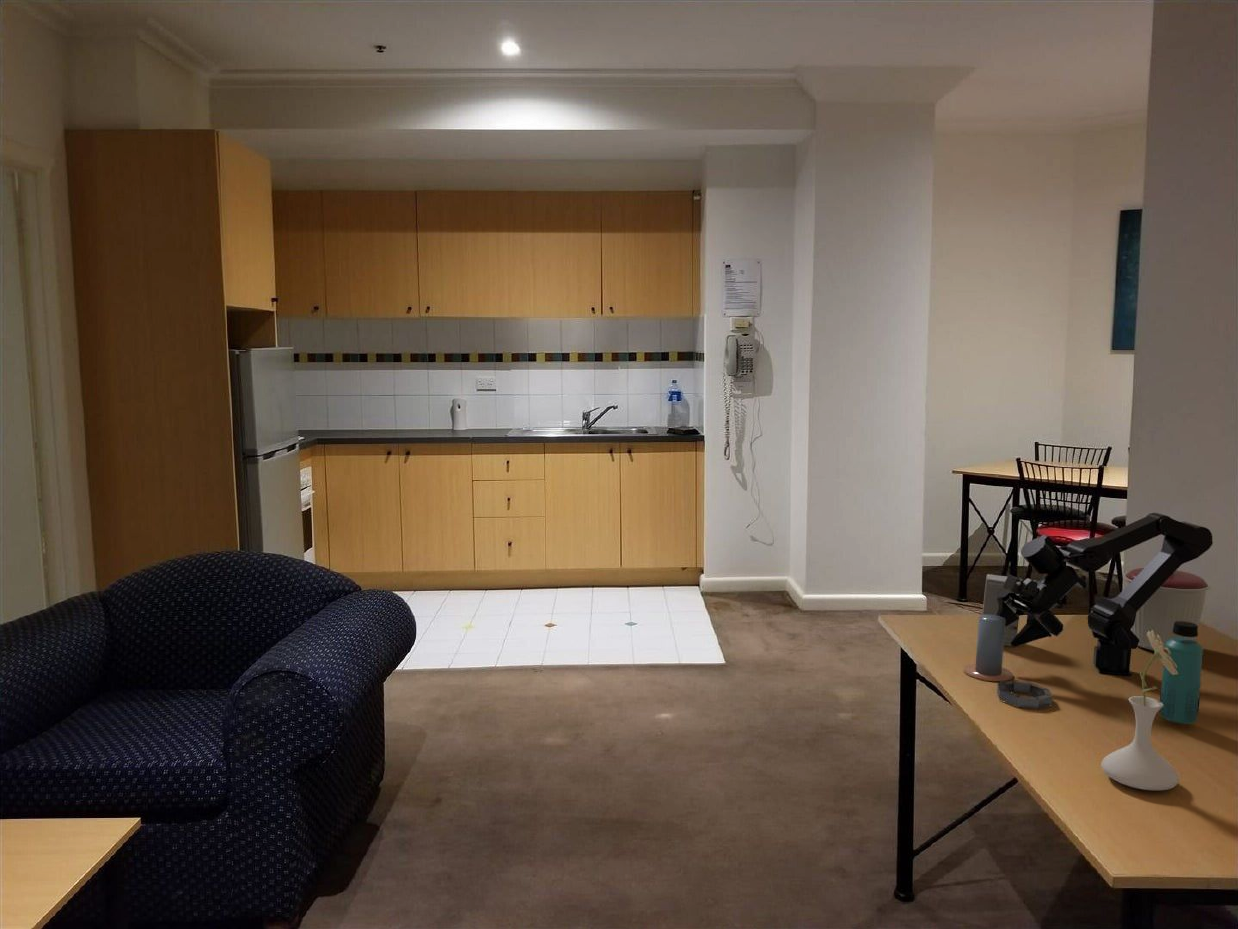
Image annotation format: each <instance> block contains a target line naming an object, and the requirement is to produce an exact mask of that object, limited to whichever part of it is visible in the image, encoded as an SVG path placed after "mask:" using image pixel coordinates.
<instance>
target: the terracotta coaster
mask: <svg viewBox="0 0 1238 929" xmlns="http://www.w3.org/2000/svg"><path fill="white" fill-rule="evenodd" d="M975 665H976V663H970V664H966V665H965V666H963V673H964V675H966V676H968V677H969V678H973V679H975V680H980V681H985V682H990V681H1004V682H1008V680H1009V681H1012V679H1013V677H1014V676H1013V675H1014V674H1013V673H1012V671H1011V670H1010V669H1007V668H1005V667H1002V674H1001V675H998V676H988V675H983V674H980V673H978V672H976V671H975Z"/></svg>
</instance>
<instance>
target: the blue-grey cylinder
mask: <svg viewBox="0 0 1238 929" xmlns="http://www.w3.org/2000/svg"><path fill="white" fill-rule="evenodd" d="M1005 622H1006V619H1005V618H1003V617H1000V616H996V615H982V614H980V615H979V616H978V622H977V623H978V624H977V626H978V628H977V637H976V638H977V640H976V653H975V655H976V656H975V664H976V665H975V671H976V672H978V673H980V674H983V675H988V676H998V675H1001V674H1002V668H1003V662H1004V661H1003V660H1004V649H1005V646H1004V635H1005Z"/></svg>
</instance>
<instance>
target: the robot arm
mask: <svg viewBox="0 0 1238 929" xmlns="http://www.w3.org/2000/svg"><path fill="white" fill-rule="evenodd" d="M1158 536H1164V537H1163V541H1162V546H1161V549H1160V551H1159V552H1158V553H1157V554H1156V555H1155V556H1154V557H1153V558H1152V559H1151V560H1150V561H1149V563H1147V564H1146V566H1145V567H1143V568H1144V569H1143V570H1142V571H1141V572H1140V573H1139V574H1138V575H1137V576H1136V577H1135V578H1134V579H1133V581H1132V582H1131V583H1130V584H1129V585H1128V586H1127V587H1126V586H1125V588H1124V589H1123V590H1122V591H1121V592H1120V593H1118V595H1117V596H1115V597H1113V598H1108V597H1106V596H1102V597H1101V598H1099V600H1098V601H1097V603H1096V604H1095V605H1093V606H1092V607H1090V608H1089V610H1090V612H1089V613H1088V615H1087V626H1088V628H1089V629H1090V631H1091V632H1092V636H1093V638H1095V639H1097V643H1096V644H1097V645H1095V646H1093V647H1094V648H1093V658H1092V664H1093V665H1094V668H1096V670H1097V672H1098V673H1100V674H1101V673H1102V674H1110V675H1113V674H1114V675H1119V676H1120V675H1122V676H1130V677H1131V676H1132V672H1131V671H1130V668H1131V656H1132V650H1135V649H1137V648H1138V647H1139V646H1138V643H1139V641H1140V640H1139V639H1138V638H1137V636H1136V635H1135V634H1134V633H1133V632H1132V631H1131V628H1132V627H1133V625H1134V623H1135V618H1136V613H1137V611H1138V610H1139V609H1140V608H1141V607H1142V606H1143V605H1144V604H1145V603H1146V601H1147V600H1148V599H1149V598H1150V597H1151V596H1152V595H1153V594H1154V593H1155V592H1156V591H1157V590H1158V589H1159V588H1160V587H1161V586H1162V585H1163V584H1164V583H1165V582H1166V580H1167V579H1168V578H1169V577H1170V576H1171V575H1172V574H1173V573H1174V572H1175V571H1176V570H1178V569H1179V568H1180V567H1181V566H1183V564H1186V563H1188V562H1191V561H1193V560H1196V559H1198V558H1199V557H1201V556H1202V555H1203V554H1205V553H1206V552H1207V551H1208V550H1210V549H1211V547H1212V545H1213V543H1214V541H1213V533H1212V532H1211V530H1210V529H1209V528H1207V527H1205V526H1202V525H1201V526H1200V525H1198V524H1193V523H1191V522H1187V521H1179V520H1176V519H1174V518H1172V517H1170V516H1169V515H1166V514H1162V513H1158V512H1152V513H1149V514H1147V515H1146V516H1144V517H1142V518H1140V519H1138V520H1136V521H1135V520H1134V522H1131V523H1129V524H1126V525H1125V526H1122V527H1120V528H1117V529H1115V530H1113V531H1110V532H1109V533H1106V534H1104V535H1101V536H1096V537H1085V538H1081V539H1077V540H1075V541H1072V542H1070V543H1068V544H1067V545H1065V546H1059V547H1058V546H1057V545H1056V544H1055V543H1054V541H1053V539H1052V538H1051V537H1050V536H1049V535H1046V534H1042V535H1041V536H1039V537H1035V538H1033V539H1032V540H1030V541H1028V542H1025V544H1024V545H1023V546H1022V548H1021V550H1020V555H1021V556H1022V558H1023V559H1024V560H1026V562H1027V563H1028V564H1029V565H1030V566H1031V567H1032V568H1033V569H1034V571H1036V572H1037V573H1038V574H1040V575H1044V576H1043V577H1041V578H1040V580H1036V579H1034V580H1033V579H1031V578H1028V577H1027V578H1026V579H1024V580H1023V579H1022V580H1020V579H1021V578H1019V577H1017V576H1013V575H1012V574H1010V573H1009V574H1008V575H1007V579H1006V581H1005V583H1004V585H1003V587H1004V588H1006V589H1001V590H1000V591H999V592H998V593H997V594H996V596H997V597H998V598H997V601H998V606H999V609H998V612H997V614H996V616H1000V617H1003V618H1005V619H1006V622H1005V627H1006V626H1008V625H1010V624H1011V623H1013V622H1015V621H1016V620H1018V619H1019V620H1020V616H1023V615H1024V614H1025V615H1027V616H1026V617H1027V618H1026V623H1025V625H1024V626H1023V627H1022V628H1021V630H1020V631H1019V632H1017V635H1016V637H1015V638H1014V639H1013V641H1012V642H1011V645H1012V646H1013V647H1012V648H1017V647H1019V646H1023V645H1025V644H1029V643H1031V642H1035V641H1038V640H1041V639H1045V638H1051V637H1052V636H1055V637H1058V636H1059V635H1060V634H1061V633H1062V632H1063V631H1064V624H1063V623H1062V621H1061V620H1059V618H1058V617H1057V615H1055V614H1054V613H1053V612H1052V609H1053V608H1054V607H1055V606H1058V607H1061V606H1062V605H1063V604H1064V602H1063V601H1062V599H1063V598H1064V597H1065V596H1066V595H1067V594H1068V593H1069V592H1070V591H1071V590H1072V589H1073V588H1074V587H1075V586H1077V587H1080V588H1082V589H1086V588H1087V580H1086V579H1087V576H1086V575H1084V574H1082V573H1078V572H1077V571H1076V570H1075V568H1077V569H1078V570H1082V571H1084V572H1085V573H1095V572H1097V571H1099V570H1100V569H1102V568H1103V567H1105V566H1106V565H1108V564H1109V563H1110V562H1111V560H1112V558H1114V557H1115V556H1117V555H1118V554H1120V553H1122V552H1124V551H1127V550H1129V549H1131V548H1133V547H1137V546H1138V545H1141V544H1143V543H1145V542H1147V541H1149V540H1153V538H1156V537H1158ZM1064 562H1066V563H1067V564H1068V565H1066V564H1065V563H1064ZM1007 588H1008V589H1009V590H1008V589H1007ZM1015 593H1016V594H1015ZM1017 615H1018V616H1019V617H1018V616H1017Z"/></svg>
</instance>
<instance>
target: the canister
mask: <svg viewBox="0 0 1238 929" xmlns="http://www.w3.org/2000/svg"><path fill="white" fill-rule="evenodd" d="M1144 568H1145V567H1138V568H1134V569H1132V570H1130V571H1127V572H1125V573H1123V575H1122V577H1123V579H1124V580H1125V588H1126V587H1127V586H1128V585H1129V584H1130V583H1131V582H1132V581H1133V579H1134V578H1135V577H1136V576H1137V575H1138V574H1139V573H1140V572H1141V571H1142V570H1143V569H1144ZM1210 589H1211V584H1210V583H1209V582H1208V581H1206V580H1205V579H1204V578H1202V577H1201V576H1198V575H1196V574H1194V573H1190V572H1186V571H1182V570H1178V569H1177V570H1176V571H1175V572H1174V573H1173V574H1172V575H1171V576H1170V577H1169V578H1168V579H1167V580H1166V582H1165V583H1164V584H1163V585H1162V586H1161V587H1160V588H1159V589H1158V590H1157V591H1156V592H1155V593H1154V594H1153V595H1152V596H1151V597H1150V598H1149V599H1148V600H1147V601H1146V603H1145V604H1144V605H1143V606H1142V607H1141V608H1140V609H1139V610H1138V611H1137V613H1136V618H1135V623H1134V625H1133V627H1132V628H1131V631H1132V632H1133V633H1134V634H1135V635H1136V636H1137V638H1138V639H1139V640H1140V641H1139V643H1138V646H1137V647H1139V648H1142V649H1146V650H1150V651H1153V652H1155V651H1154V649H1153V648H1152V646H1151V644H1150V641H1149V639H1148V636H1147V633H1148V632H1149V631H1150V632H1151V631H1152V630H1153V631H1154V633H1155V635H1156V638H1157V635H1159V636H1160V638H1161V641H1162V643H1163V645H1164V648H1165V643H1166V642H1167V641H1169V640H1170V639H1172V638H1176V637H1179V638H1187V639H1192V640H1194V641H1196V638H1197V637H1185V636H1180V635H1176V634H1174V633H1173V632H1172V631H1173V626H1174V622H1176V621H1185V622H1191V623H1194V624H1196V625H1197V626H1198V627H1199V626H1200V621H1201V618H1202V615H1203V610H1204V609H1203V608H1204V604H1205V599H1206V596H1207V591H1208V590H1210Z"/></svg>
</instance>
